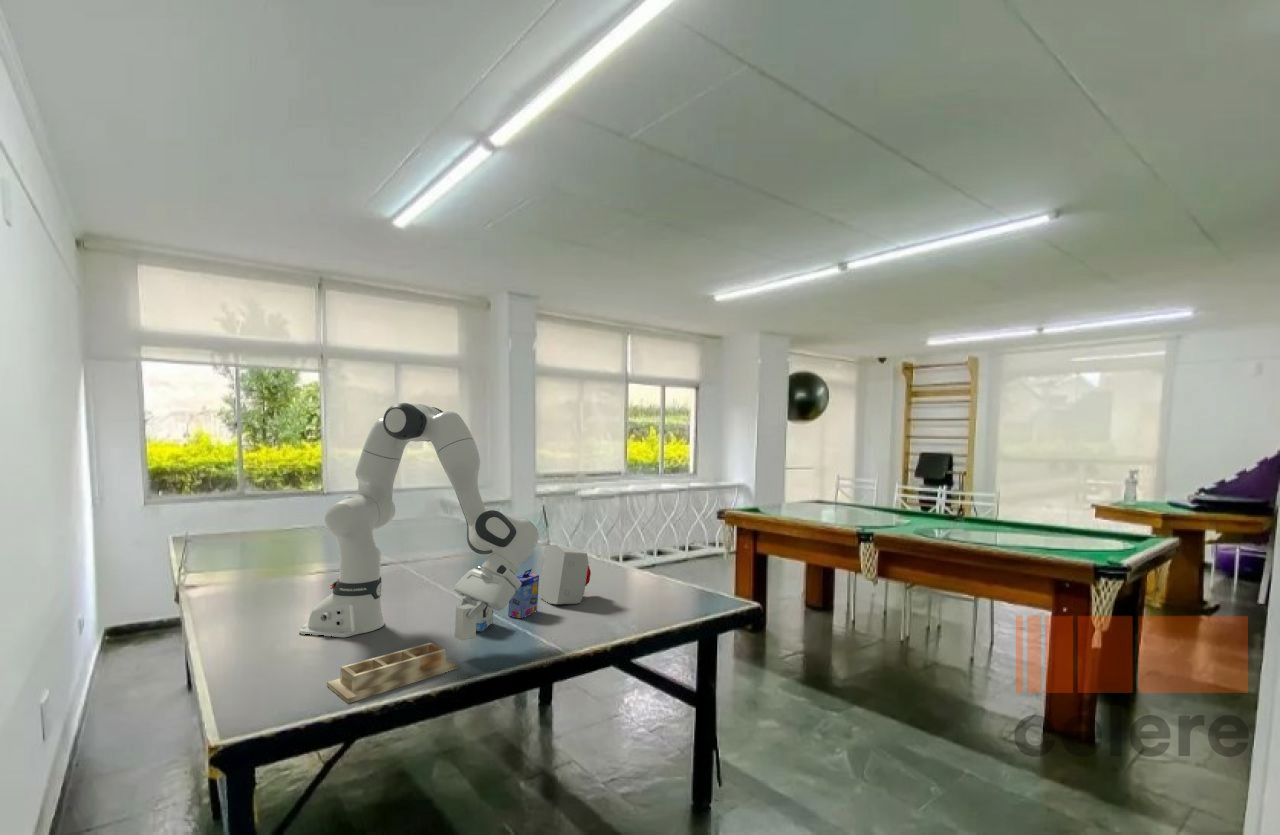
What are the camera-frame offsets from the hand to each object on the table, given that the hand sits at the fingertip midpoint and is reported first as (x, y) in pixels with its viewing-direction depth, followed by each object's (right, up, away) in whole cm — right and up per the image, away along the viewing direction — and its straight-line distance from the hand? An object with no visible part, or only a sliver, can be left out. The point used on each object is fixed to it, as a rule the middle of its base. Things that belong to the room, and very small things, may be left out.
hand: (464, 615), depth 151 cm
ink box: (-2, -12, +23) cm, 26 cm away
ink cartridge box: (+8, -12, +36) cm, 39 cm away
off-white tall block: (0, -6, 0) cm, 6 cm away
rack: (-12, -10, -14) cm, 21 cm away
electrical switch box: (+20, -13, +54) cm, 59 cm away
